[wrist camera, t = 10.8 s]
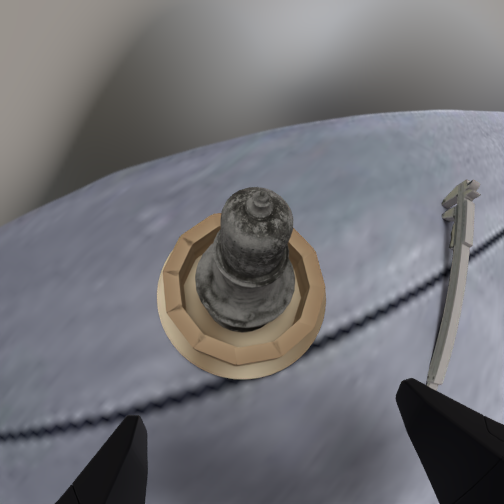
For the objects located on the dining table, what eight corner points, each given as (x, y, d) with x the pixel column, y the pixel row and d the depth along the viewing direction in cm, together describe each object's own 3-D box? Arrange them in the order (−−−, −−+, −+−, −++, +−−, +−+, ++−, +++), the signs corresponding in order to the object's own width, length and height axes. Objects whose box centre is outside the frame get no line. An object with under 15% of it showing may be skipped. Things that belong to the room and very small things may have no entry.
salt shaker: (226, 352, 19) (228, 313, 8) (185, 279, 21) (148, 166, 10) (300, 309, 21) (378, 225, 10) (256, 242, 22) (284, 116, 12)
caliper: (439, 202, 28) (470, 168, 22) (447, 206, 28) (478, 173, 22) (420, 397, 19) (470, 395, 14) (429, 399, 19) (480, 396, 14)
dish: (337, 253, 24) (353, 233, 21) (293, 401, 19) (306, 404, 16) (199, 204, 25) (196, 179, 21) (134, 339, 20) (118, 331, 16)
